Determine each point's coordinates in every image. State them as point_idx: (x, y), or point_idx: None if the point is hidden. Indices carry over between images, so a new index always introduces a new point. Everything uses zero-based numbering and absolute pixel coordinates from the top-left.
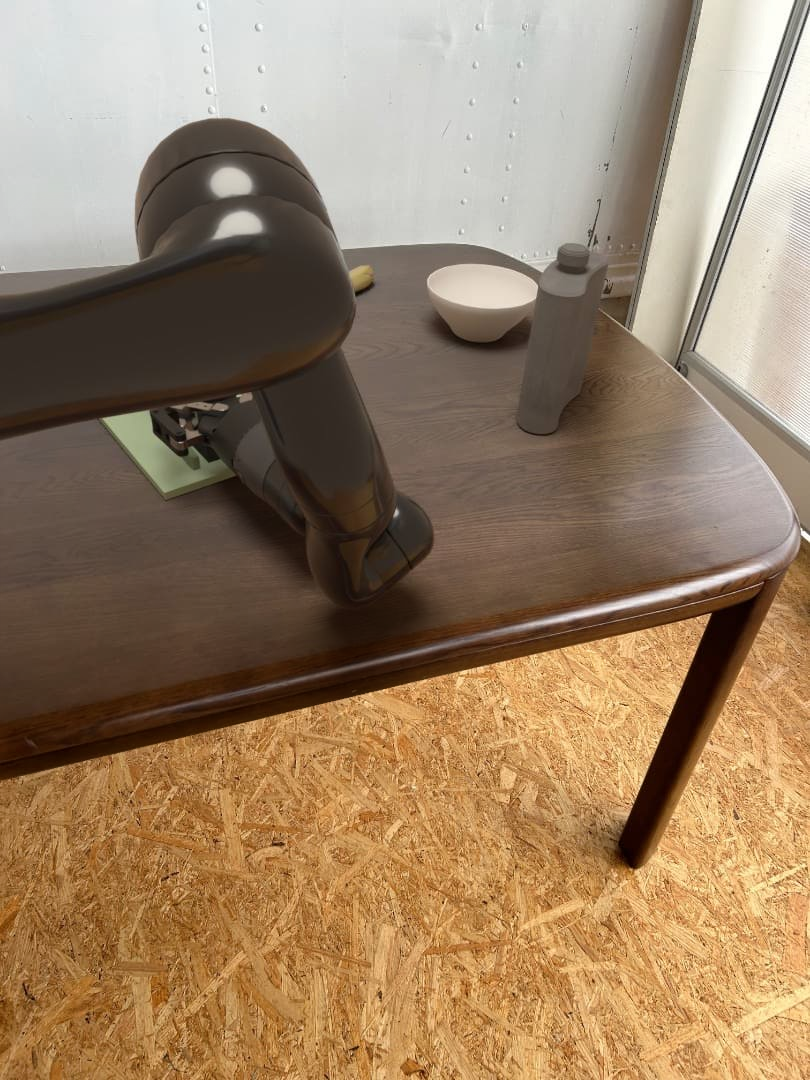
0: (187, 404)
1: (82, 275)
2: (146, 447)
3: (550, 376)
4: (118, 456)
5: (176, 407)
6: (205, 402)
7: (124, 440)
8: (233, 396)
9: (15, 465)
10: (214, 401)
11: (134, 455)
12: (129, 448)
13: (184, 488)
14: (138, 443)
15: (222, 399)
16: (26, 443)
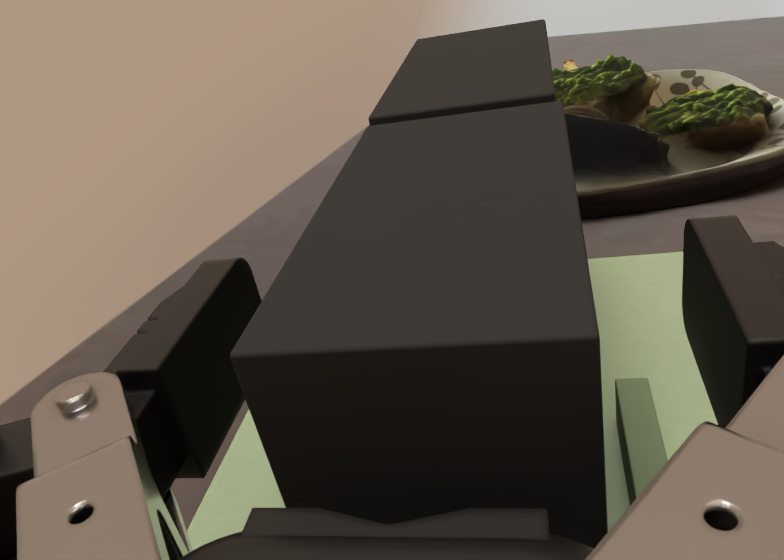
0: (46, 475)
1: (579, 41)
2: (267, 489)
3: None
4: (209, 475)
5: (45, 454)
6: (309, 464)
7: (251, 423)
8: (526, 511)
9: (25, 396)
10: (385, 476)
11: (200, 511)
12: (223, 467)
13: None
14: (266, 456)
15: (462, 477)
16: (122, 338)
